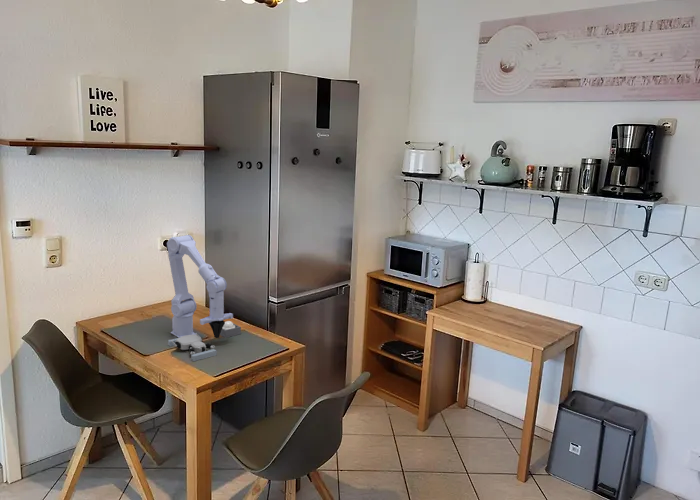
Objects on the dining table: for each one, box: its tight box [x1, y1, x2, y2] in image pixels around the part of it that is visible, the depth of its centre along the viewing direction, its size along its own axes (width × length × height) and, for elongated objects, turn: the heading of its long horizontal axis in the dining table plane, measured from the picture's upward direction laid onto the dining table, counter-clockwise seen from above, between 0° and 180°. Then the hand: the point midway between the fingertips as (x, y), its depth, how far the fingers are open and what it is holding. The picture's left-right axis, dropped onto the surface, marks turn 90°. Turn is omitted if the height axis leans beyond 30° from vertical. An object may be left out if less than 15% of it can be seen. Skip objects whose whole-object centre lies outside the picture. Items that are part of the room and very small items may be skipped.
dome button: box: [223, 320, 235, 330], centre depth 240 cm, size 6×6×5 cm
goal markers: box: [167, 337, 218, 362], centre depth 220 cm, size 22×10×2 cm, turn 44°
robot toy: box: [170, 332, 216, 356], centre depth 220 cm, size 12×4×15 cm
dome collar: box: [220, 322, 242, 339], centre depth 240 cm, size 8×8×3 cm
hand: (216, 337), depth 227 cm, fingers closed
